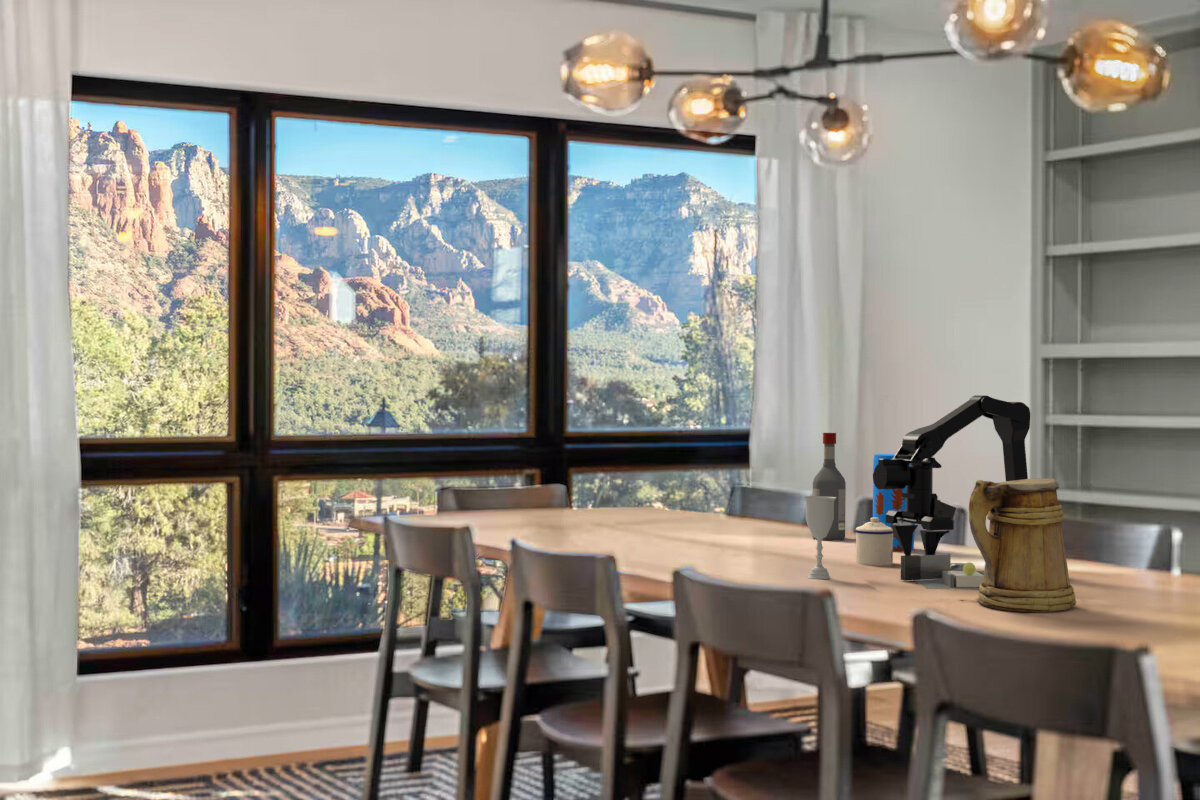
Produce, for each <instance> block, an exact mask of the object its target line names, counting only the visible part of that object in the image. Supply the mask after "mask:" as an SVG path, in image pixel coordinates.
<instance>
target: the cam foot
mask: <svg viewBox="0 0 1200 800" xmlns="http://www.w3.org/2000/svg"><path fill="white" fill-rule="evenodd" d="M976 569H977V567H976V566H975V564H974V563H972V562H966V564H964V566H963V571H947V572H949V573H953V575H954V586H955V587H979V586H980V584H981V583H982V582H983V578H984V575H982V574H980V573H978V572H976V571H975V570H976Z"/></svg>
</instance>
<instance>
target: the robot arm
mask: <svg viewBox="0 0 1200 800" xmlns="http://www.w3.org/2000/svg"><path fill="white" fill-rule="evenodd" d="M980 417H984V418H987V419H990V420H992V422H993V426H994V429H995V432H996V433H997V435H998V437H999V439H1000V440H1001V442H1002V453H1003V463H1004V464H1003V465H1004V475H1005V481H1015V480H1023V479H1029V476H1028V464H1027V454H1026V442H1025V441H1026V438H1027V435H1028V433H1029V430H1030V427H1031V410H1030V407H1029V406H1028V405H1027V404H1025V403H1024V402H1021V401H1006V400H1001V399H999V398H998V399H997V398H994V397H991V396H988V395H978V394H977V395H973V396H971V397H970V398H969V400H968V401H966V402H964V403H963V404H961V405H959V406H958V407H957V408H956V407H955V409H954V410H952V411H950V412H949V413H947V414H946V415H944V416H943V417H941V418H940V419H939V420H937V421H936V422H934V423H932V424H929V425H927V426H922V427H919V428H916V429H914V430H911V431H908V432H907V433H906V434H904V436H903V437H902V441H901V442H902V443H901V445H900V446H899V447H898V450H897V451H896V452H895V453H894V454H895V456H894V457H893V459H878V465H877V466H876V467H875V470H874V473H872V482H873V481H874V484H875V486H876V488H877V489H879V490H884V489H904V488H905V487H906V493H902V497H904V498H906V510H889V511H888V512H887V514H886V523H891V524H892V525H890V527H891V528H892V530H893V531H894V533H895V535H896V537H897V539H898V541H899V543H900V545H901V548H902V550H903V551H902V553H903V554H904V556H906V555H912V551H913V550H912V539H913V532H914V531H915V532H916V529H917V528H918V527H919V525H920V526H921V528H922V530H921V529H920V530H919V533H920V536H921V542H922V545H923V546H922V547H923V549H924V555H929V554H936V552H937V548H938V547H939V544H940V542H941V539H942V538H943V537H944V536H945V535H946V534H949V533H950V531H951V530H952V531H953V530H955V520H954V517H955V514H956V510H957V507H955V506H953V505H951V504H948V503H946V502H942V501H941V500H940V499H938V498H939V497H938V495H937V493H934V492H933V487H934V486H933V484H934V483H933V477H934V476H933V475H934V473H933V471H934V470H933V469H942V467H943V466H942V464H941V463H939V462H938V461H937V460H936V458H935V457H934V456H935V455H936V454H937V453H938V452H939V451H940V450H941V449H942V448H943V447H944V446H945V445H944V444H945V443H946V441H947V440H948V439H949V438H951V437H952V436H953V435H955V434H957V433H958V432H960V431H961V430H963V429H965V427H967V426H969V425H970V424H972V423H974V422H975V421H976V420H978V419H979V418H980ZM909 463H912V465H909ZM874 484H873V485H874ZM911 523H915V525H914V524H911ZM911 550H912V551H911Z"/></svg>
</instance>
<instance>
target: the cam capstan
mask: <svg viewBox="0 0 1200 800" xmlns="http://www.w3.org/2000/svg"><path fill="white" fill-rule="evenodd" d="M966 563H967V562H966ZM966 563H964V562H963V563H962V562H951V553H935V554H929V555H925V554H911V555H906V556H905V555H900V572H901V573H900V581H904V582H907V581H909V582H910V581H914V580H924V579H942V571H963V566H964V564H966ZM975 571H976V572H978V571H983V572H984V570H983V569H978V568H976V570H975Z"/></svg>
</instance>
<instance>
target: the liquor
mask: <svg viewBox="0 0 1200 800" xmlns="http://www.w3.org/2000/svg"><path fill="white" fill-rule="evenodd" d="M822 444H824V446H823V447H824V448H823V450H824V451H823V463H822V467H821V469H820V470H819V471H818V472H817V474H816V475H815V476H814V478H813V481H812V496H827V497H836V499H835V501H834V520H833V523H832V526H831V528H830V530H829V532H828V534H827V536H826V537H825V538H823V539H822V541H833V540H839V541H844V540H845V538H846V499H847V498H846V496H847V495H846V491H847V490H846V489H847V488H846V486H847V485H846V484H847V482H846V480H845V477H844V476H843V474H842V473H841V472H840V470H839V469H838V468H837V466H836V456H835V455H836V454H835V453H836V452H835V451H836V448H835V444H837V432H822ZM812 539H813V540H815V539H816V541H817V538H814V537H813V536H812Z"/></svg>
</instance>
